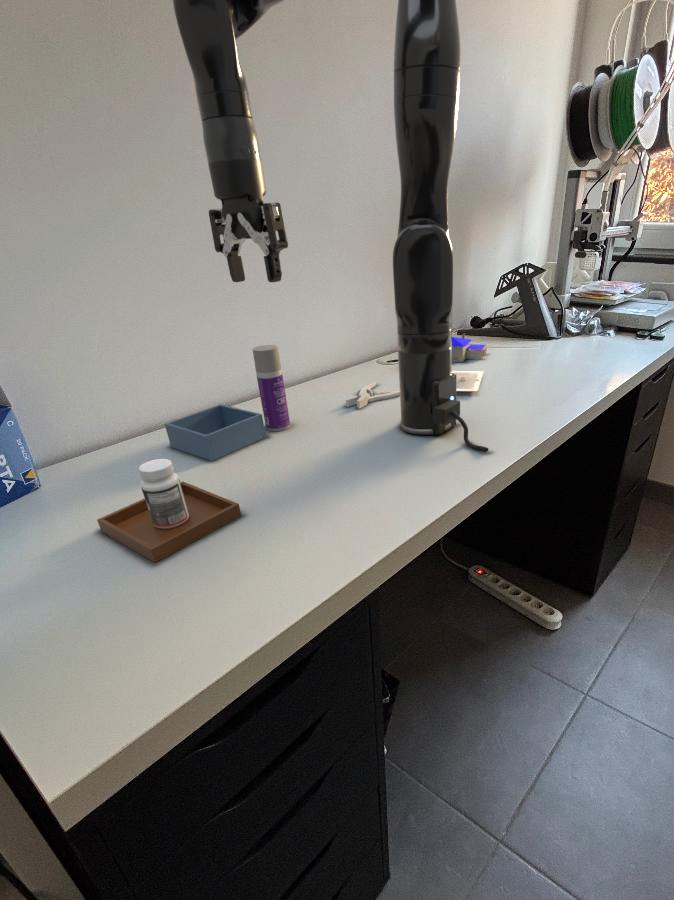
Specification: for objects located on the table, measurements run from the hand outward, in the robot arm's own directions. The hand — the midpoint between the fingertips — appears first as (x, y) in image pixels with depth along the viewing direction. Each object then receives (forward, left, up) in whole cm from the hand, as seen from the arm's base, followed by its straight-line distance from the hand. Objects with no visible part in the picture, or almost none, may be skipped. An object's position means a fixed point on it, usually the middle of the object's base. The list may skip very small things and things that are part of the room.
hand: (256, 281), depth 84 cm
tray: (-10, +29, -27) cm, 41 cm away
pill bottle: (-10, +29, -26) cm, 41 cm away
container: (+5, -4, -27) cm, 27 cm away
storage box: (+9, +7, -27) cm, 29 cm away
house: (+2, -63, -27) cm, 68 cm away
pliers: (0, -27, -27) cm, 38 cm away
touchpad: (-13, -43, -27) cm, 52 cm away
